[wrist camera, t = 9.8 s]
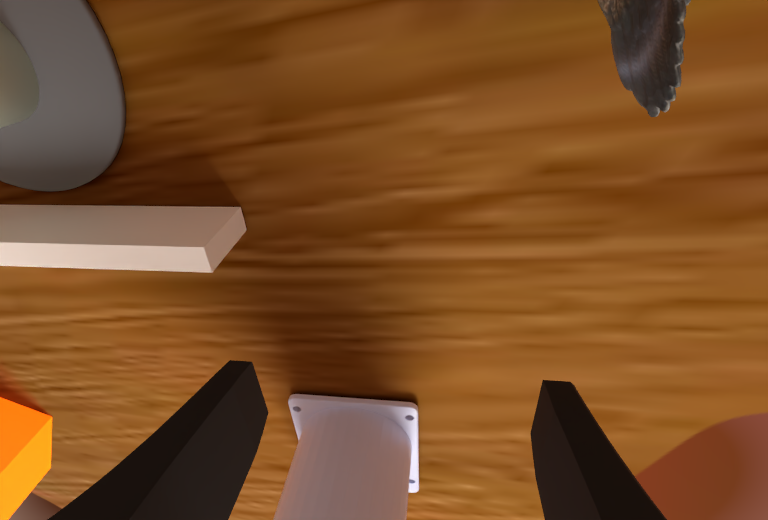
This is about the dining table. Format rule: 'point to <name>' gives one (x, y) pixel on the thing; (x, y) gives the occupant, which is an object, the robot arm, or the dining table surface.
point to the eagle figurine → (648, 48)
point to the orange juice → (22, 453)
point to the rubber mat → (63, 97)
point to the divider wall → (119, 236)
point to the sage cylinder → (16, 81)
